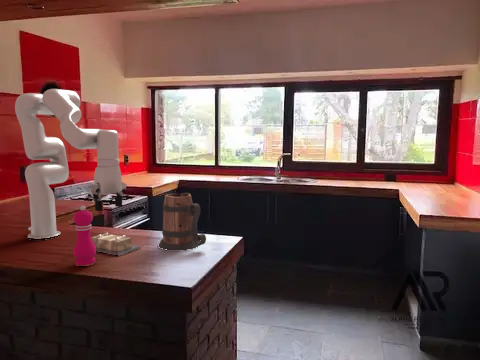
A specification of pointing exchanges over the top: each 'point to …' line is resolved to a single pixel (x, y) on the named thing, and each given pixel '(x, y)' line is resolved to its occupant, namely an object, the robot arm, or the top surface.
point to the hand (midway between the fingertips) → (109, 208)
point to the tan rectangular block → (112, 242)
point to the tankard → (180, 223)
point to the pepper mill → (84, 238)
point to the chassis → (116, 251)
